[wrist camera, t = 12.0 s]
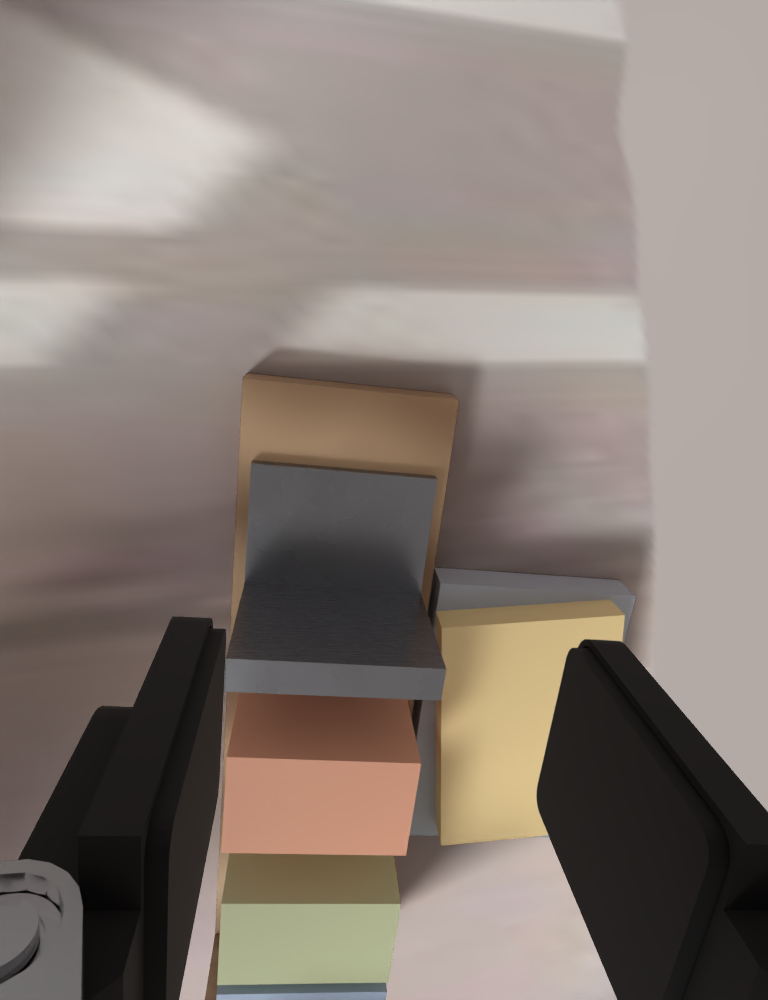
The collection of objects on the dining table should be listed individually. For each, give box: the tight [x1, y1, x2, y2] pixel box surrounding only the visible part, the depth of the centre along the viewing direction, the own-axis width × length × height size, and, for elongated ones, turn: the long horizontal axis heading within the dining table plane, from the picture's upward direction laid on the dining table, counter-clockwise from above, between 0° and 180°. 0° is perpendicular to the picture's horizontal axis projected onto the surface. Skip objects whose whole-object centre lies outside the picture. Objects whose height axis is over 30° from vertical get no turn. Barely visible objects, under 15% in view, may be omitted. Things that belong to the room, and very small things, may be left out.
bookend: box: [224, 460, 446, 701], centre depth 23 cm, size 6×7×6 cm
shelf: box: [205, 373, 459, 1000], centre depth 24 cm, size 28×8×13 cm, turn 173°
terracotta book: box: [221, 692, 421, 856], centre depth 25 cm, size 4×6×6 cm, turn 83°
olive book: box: [217, 853, 401, 985], centre depth 27 cm, size 4×6×6 cm, turn 83°
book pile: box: [409, 567, 636, 846], centre depth 29 cm, size 13×9×3 cm
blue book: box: [216, 983, 387, 1000], centre depth 29 cm, size 4×6×6 cm, turn 83°
